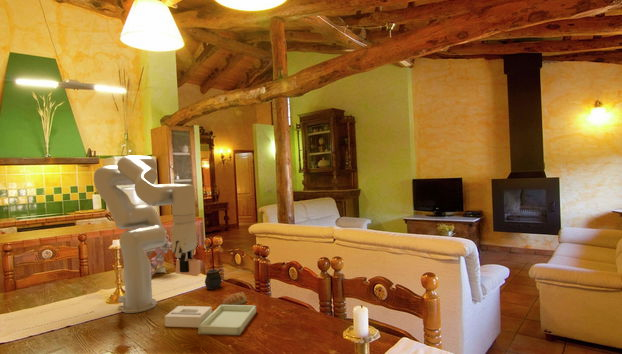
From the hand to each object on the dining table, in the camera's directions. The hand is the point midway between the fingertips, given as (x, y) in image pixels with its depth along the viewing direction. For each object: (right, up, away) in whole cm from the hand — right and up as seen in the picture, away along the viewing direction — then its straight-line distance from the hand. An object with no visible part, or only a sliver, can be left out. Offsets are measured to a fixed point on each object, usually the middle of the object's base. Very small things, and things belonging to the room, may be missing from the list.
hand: (186, 270), depth 122 cm
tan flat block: (+5, +1, -1) cm, 5 cm away
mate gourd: (0, -18, +35) cm, 39 cm away
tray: (+16, -18, -2) cm, 24 cm away
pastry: (+14, -18, +16) cm, 28 cm away
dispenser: (+1, -18, 0) cm, 18 cm away
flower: (-38, -19, +56) cm, 70 cm away
